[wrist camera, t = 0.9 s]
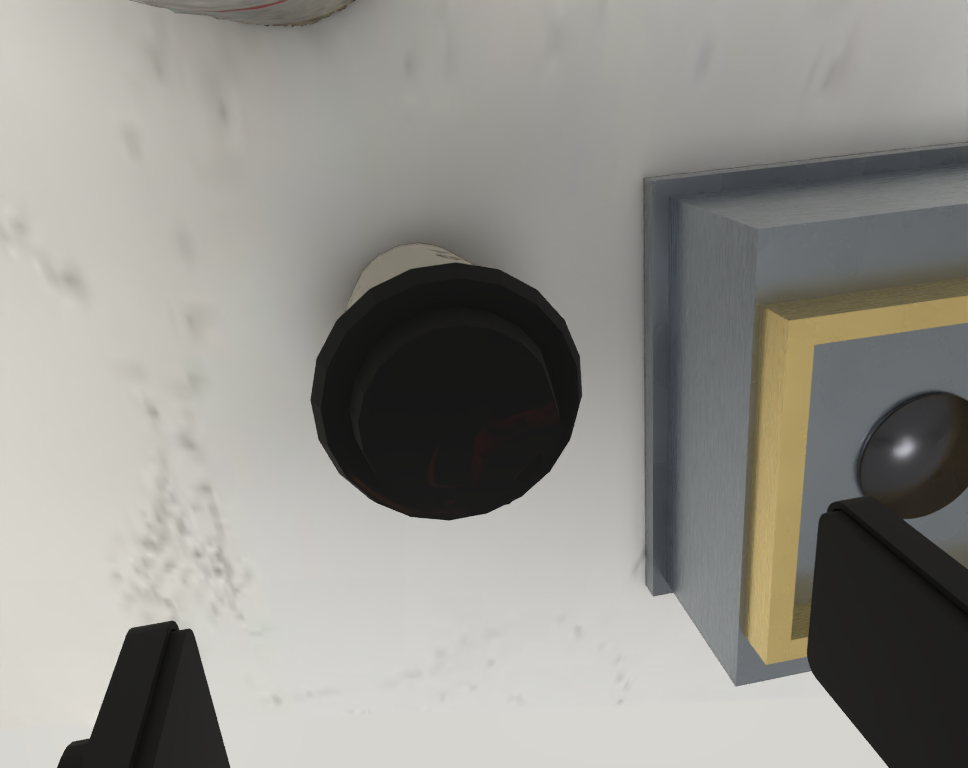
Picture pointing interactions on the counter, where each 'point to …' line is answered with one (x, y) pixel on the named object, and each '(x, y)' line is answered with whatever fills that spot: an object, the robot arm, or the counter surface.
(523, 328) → the coffee cup
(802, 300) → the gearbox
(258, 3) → the spray can
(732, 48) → the counter surface
